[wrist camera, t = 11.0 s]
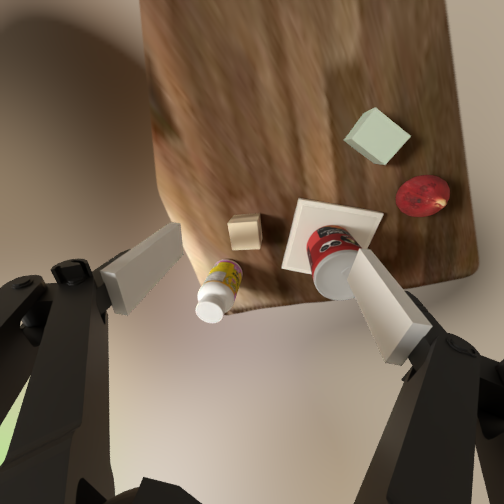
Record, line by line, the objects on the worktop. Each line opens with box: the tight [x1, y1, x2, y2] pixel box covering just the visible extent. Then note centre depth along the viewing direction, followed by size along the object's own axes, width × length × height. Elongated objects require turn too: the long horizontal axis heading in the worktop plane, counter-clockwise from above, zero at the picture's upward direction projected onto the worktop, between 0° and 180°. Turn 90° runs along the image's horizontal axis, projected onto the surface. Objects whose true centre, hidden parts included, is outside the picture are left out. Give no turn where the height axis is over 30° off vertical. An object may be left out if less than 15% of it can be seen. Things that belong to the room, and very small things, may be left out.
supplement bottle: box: [196, 259, 243, 323], centre depth 38 cm, size 7×7×13 cm
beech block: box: [227, 213, 262, 250], centre depth 36 cm, size 5×5×5 cm
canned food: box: [306, 225, 362, 300], centre depth 31 cm, size 8×8×11 cm
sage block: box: [344, 107, 411, 165], centre depth 28 cm, size 4×6×4 cm, turn 58°
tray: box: [282, 198, 383, 274], centre depth 37 cm, size 14×14×1 cm
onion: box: [396, 175, 450, 217], centre depth 28 cm, size 6×6×8 cm
